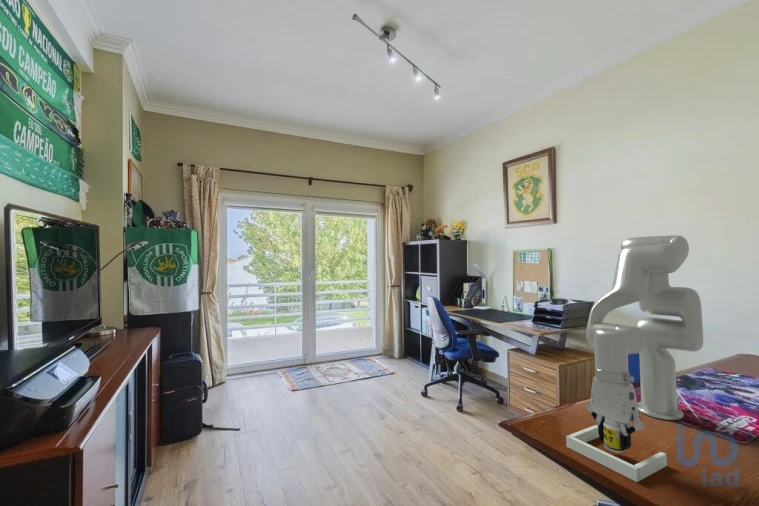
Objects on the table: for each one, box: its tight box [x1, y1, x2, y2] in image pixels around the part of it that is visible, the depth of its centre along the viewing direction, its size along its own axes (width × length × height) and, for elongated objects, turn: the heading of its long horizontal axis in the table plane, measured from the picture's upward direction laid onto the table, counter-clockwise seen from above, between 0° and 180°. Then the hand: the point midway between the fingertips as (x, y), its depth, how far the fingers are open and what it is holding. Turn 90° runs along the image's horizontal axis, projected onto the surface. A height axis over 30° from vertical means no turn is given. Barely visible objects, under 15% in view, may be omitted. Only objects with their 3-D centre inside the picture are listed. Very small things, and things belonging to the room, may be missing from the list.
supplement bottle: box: [603, 417, 626, 454], centre depth 95 cm, size 5×5×8 cm
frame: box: [565, 424, 668, 483], centre depth 94 cm, size 13×18×3 cm
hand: (614, 443), depth 95 cm, fingers closed on supplement bottle, 4 cm apart
